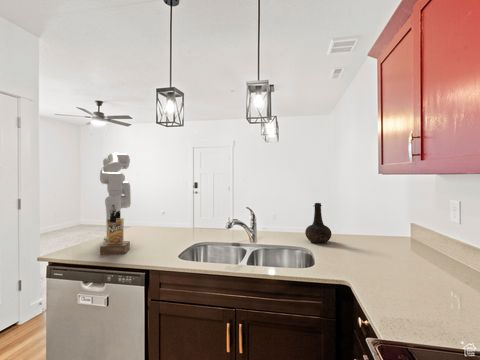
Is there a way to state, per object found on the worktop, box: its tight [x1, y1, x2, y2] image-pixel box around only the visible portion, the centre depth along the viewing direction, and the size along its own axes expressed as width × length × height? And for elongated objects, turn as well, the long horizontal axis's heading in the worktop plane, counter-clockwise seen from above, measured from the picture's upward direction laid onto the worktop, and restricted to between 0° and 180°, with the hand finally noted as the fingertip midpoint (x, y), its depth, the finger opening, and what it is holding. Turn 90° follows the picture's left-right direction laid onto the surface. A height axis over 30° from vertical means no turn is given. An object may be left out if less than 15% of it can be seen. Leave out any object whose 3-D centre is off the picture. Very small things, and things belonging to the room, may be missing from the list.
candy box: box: [106, 217, 125, 244], centre depth 171 cm, size 9×4×15 cm, turn 105°
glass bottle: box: [305, 202, 332, 244], centre depth 200 cm, size 18×18×28 cm
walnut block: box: [99, 240, 131, 256], centre depth 171 cm, size 12×14×5 cm
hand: (115, 220), depth 171 cm, fingers open, 9 cm apart
